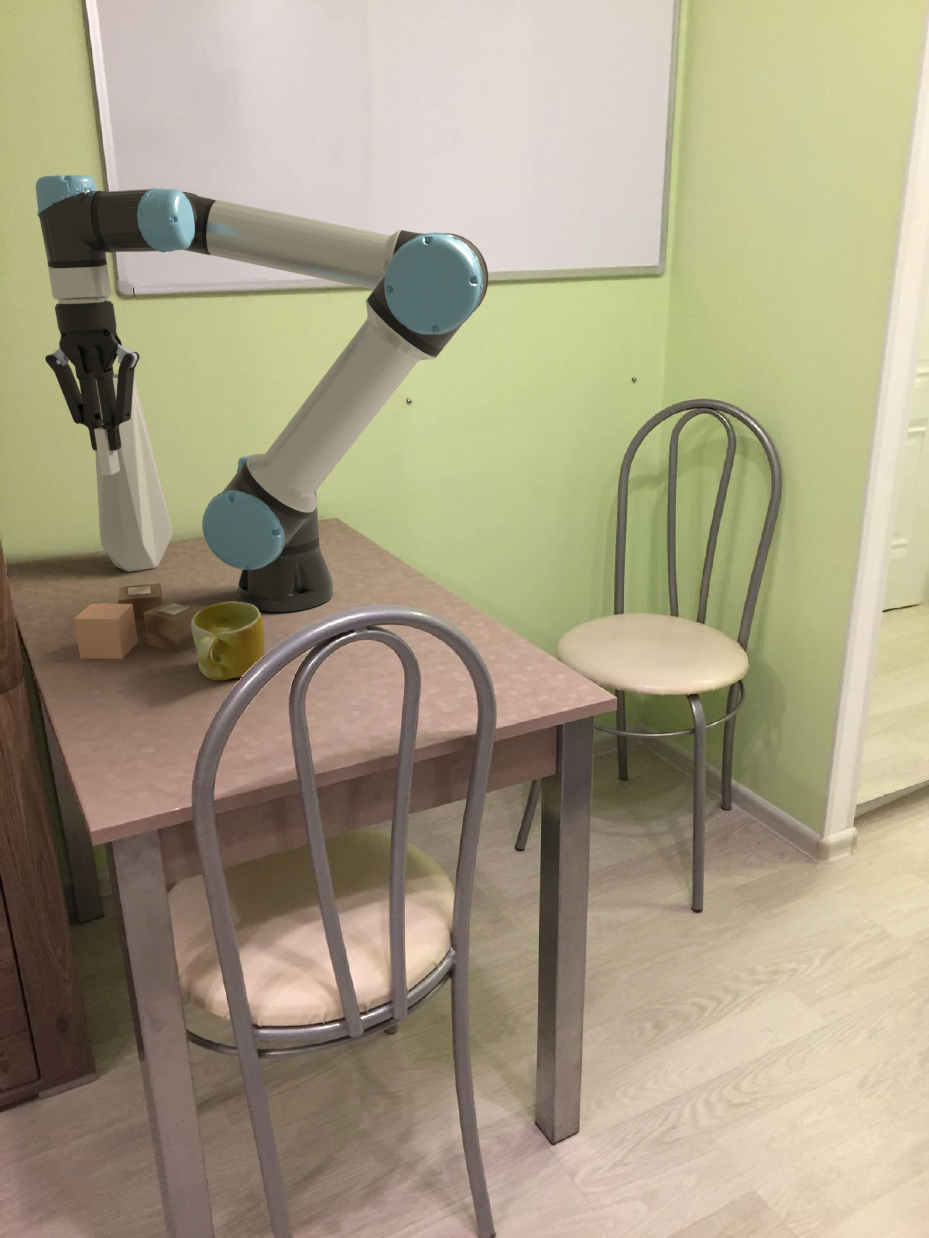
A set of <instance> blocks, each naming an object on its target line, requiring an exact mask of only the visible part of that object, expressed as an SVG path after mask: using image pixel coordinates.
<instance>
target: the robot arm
mask: <svg viewBox="0 0 929 1238" xmlns="http://www.w3.org/2000/svg"><path fill="white" fill-rule="evenodd" d="M35 193H36V203H37V212H36V213H37V217H38V218H39V223H40V227H41V228H40V229H41V233H42V238H43V244H44V249H45V254H46V260H47V267H48V268H47V269H48V270H47V271H48V275H49V276H48V277H49V281H50V286H51V287H50V288H51V295H52V298H53V299H54V300H57V301H58V302H57V303H56V304H55V305H54V311H55V318H56V323H57V329H58V332H59V333H60V339H59V342H58V347H59V348H58V349H57V350H55V351H53V353H51V354H47V355H45V362H46V364H47V365H48V366H49V367H50V369H51V370H52V371H53V373H54V374H55V377H56V380H57V383H58V385H59V387H60V390H61V392H62V395H63V398H64V400H65V402H66V405H67V407H68V411H69V413H70V415H71V418H72V420H73V422H74V423H75V424H77V425H79V424H80V425H82V426H85V427H87V428H88V434H89V438H90V439H89V440H90V446H91V448H92V450H93V451H94V452H95V451H98V456H99V462H100V468H101V474H102V475H112V474H114V473H116V472H118V471H120V467H119V460H118V454H117V450H118V449H121V438H120V432H119V425H120V424H121V423H124V422H126V421H128V420H130V419H131V409H132V396H133V383H134V377H135V369H136V367H137V364H138V363H139V360H140V354H139V352H137V351H130V350H129V349H128V348H126V347H124V346H123V344H122V340H121V338H119V336H118V333H117V320H116V314H115V307H114V303H113V302H112V301H111V300H109V299H108V298H110V297H111V296H112V295H113V293H112V288H111V281H110V275H109V268H108V261H107V253H135V252H136V253H146V252H150V253H151V252H159V253H167V252H175V251H187V252H190V253H195V254H196V253H197V254H201V255H208V256H212V257H213V256H214V257H218V258H223V259H228V260H231V261H237V262H241V263H247V264H252V265H256V266H261V267H265V268H270V269H274V270H280V271H283V272H284V271H285V272H288V273H293V274H294V273H295V274H297V275H304V276H307V277H312V278H317V279H323V280H326V281H331V282H335V283H341V284H345V285H349V286H350V285H351V286H355V287H360V288H363V289H364V288H365V289H368V290H369V289H370V290H373V291H371V293H370V294H369V296H368V297H367V298H366V300H365V304H366V305H365V306H366V313H367V317H366V318H367V319H366V320H365V321H364V322H363V324H362V325H361V327H359V329H358V331H357V332H356V333H355V334H354V336H353V337H352V338H351V339H350V341H349V343H348V344H347V345H346V346H345V348H344V349H343V350H342V352H341V353H340V354H339V356H338V357H337V358H336V359H335V360H334V362H333V364H332V365H331V366H330V367H329V369H328V370H327V371H326V373H325V374H324V375H323V377H321V379H320V380H319V382H318V384H317V385H316V386H315V387H314V389H313V390H312V392H311V393H310V394H309V395H308V397H307V398H306V399H305V400H304V402H303V403H302V405H301V406H300V407H299V408H298V409H297V411H296V413H295V414H294V415H293V417H292V418H291V419H290V420H289V422H288V423H287V424H286V426H285V427H284V429H283V430H282V431H281V432H280V434H279V435H278V436H277V438H275V440H274V442H273V443H272V444H271V446H270V447H269V448H268V449H267V451H265V453H258V454H257V453H255V454H250V455H245V456H242V457H241V456H240V458H239V459H238V461H237V469H236V474H235V475H233V477H232V479H231V480H230V482H229V483H228V484H227V486H225V488H224V489H223V490H222V491H221V492H220V493H218V494H217V495H215V496H213V498H211V500H210V501H209V503H208V504H207V507H206V508H205V510H204V513H203V515H202V520H201V521H202V522H201V527H202V532H203V536H204V540H205V543H206V544H207V546H208V548H209V549H210V551H211V552H212V553H213V554H214V555H215V557H217V559H219V560H220V561H221V562H222V563H225V564H226V565H228V566H229V567H232V568H234V569H238V570H241V571H240V575H239V579H238V584H237V593H238V594H237V597H238V602H244V603H249V604H252V605H254V606H256V607H257V608H258V610H259V612H260V611H261V612H267V613H270V612H272V613H278V612H279V613H286V612H287V613H288V612H297V611H303V610H307V609H311V608H315V607H318V606H320V605H322V604H324V603H327V602H328V601H329V600H330V599H332V598H333V595H334V584H333V583H334V581H333V578H332V575H331V573H330V570H329V567H328V565H327V564H326V560H325V558H324V556H323V554H322V550H321V548H320V532H319V515H318V499H317V498H318V497H317V490H318V489H319V487H320V486H321V485H322V484H323V483H324V482H325V480H326V479H327V478H328V476H329V475H330V473H332V471H333V470H334V468H336V466H337V465H338V464H339V462H340V461H341V460H342V458H343V457H344V456H345V455H346V453H347V452H348V451H349V449H350V448H352V447H353V444H354V443H355V442H356V441H357V440H358V438H359V437H360V436H361V434H363V432H364V431H365V429H366V428H367V427H368V426H369V424H370V423H371V422H372V420H373V419H374V418H375V417H376V415H377V414H378V413H379V412H380V411H381V409H382V408H383V407H384V405H385V404H386V402H387V401H388V400H389V399H390V398H391V397H392V395H393V394H394V393H395V391H396V390H397V389H398V388H399V386H400V385H401V384H402V382H403V381H404V380H405V379H406V377H407V376H408V375H409V374H410V373H411V371H412V370H413V369H414V367H415V366H416V365H417V364H418V362H420V361H426V360H435V359H437V357H438V356H439V354H440V353H441V352H442V351H443V350H444V348H445V347H446V346H447V344H449V342H450V341H451V340H452V338H453V337H454V336H455V335H456V334H457V332H458V331H459V329H460V328H462V326H463V324H465V322H466V321H468V320H469V318H470V317H471V316H472V315H473V313H474V312H475V311H476V310H477V309H478V308H479V307H480V306H481V305H482V302H483V301H484V299H485V297H486V295H487V291H488V287H489V270H488V269H489V268H488V266H487V263H486V260H485V257H484V255H483V254H482V252H481V251H480V250H479V248H478V247H477V246H476V245H475V244H474V243H473V242H472V241H471V240H469V239H467V238H466V237H464V236H461V235H460V234H457V233H456V234H455V233H449V232H428V233H427V232H426V233H422V232H420V233H419V232H415V231H414V232H413V231H407V230H403V229H399V230H397V231H395V233H393V234H391V235H390V234H386V233H385V234H384V233H381V232H376V231H370V230H366V229H360V228H355V227H351V226H348V225H347V226H346V225H341V224H336V223H331V222H328V221H327V222H326V221H321V220H317V219H311V218H308V217H302V216H297V215H293V214H288V213H282V212H278V211H272V210H269V209H263V208H260V207H259V208H258V207H253V206H248V205H243V204H239V203H235V202H234V203H233V202H229V201H224V200H217V199H212V198H208V197H204V196H200V195H198V194H196V193H193V192H188V191H181V190H179V189H175V188H173V189H171V188H164V187H161V188H157V187H155V188H153V187H151V188H148V189H147V188H145V189H129V190H127V189H126V190H115V191H112V190H110V191H107V190H98V188H97V186H96V182H95V179H94V177H92V176H90V175H84V174H82V175H80V174H78V175H77V174H73V175H72V174H69V175H68V174H67V175H65V174H64V175H63V174H62V175H61V174H59V175H45V176H41V177H39V178H38V179H37V180H36V183H35ZM117 358H118V359H117ZM116 359H117V362H118V364H119V366H118V370H117V373H118V382H117V396H116V395H115V389H114V382H113V375H114V367H113V366H114V364H115V361H116ZM69 363H71V364H72V365H73V367H74V369H75V370H74V371H75V375H74V373H73V370H72V368H71V366H70V364H69ZM76 378H77V380H78V382H77V381H76ZM96 381H97V384H96ZM78 383H79V386H78ZM97 387H98V391H97ZM98 393H99V397H98ZM99 399H100V403H99ZM100 405H101V410H100ZM101 412H102V416H101ZM102 418H103V420H102ZM102 424H103V425H102Z"/></svg>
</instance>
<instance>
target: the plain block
mask: <svg viewBox="0 0 929 1238" xmlns="http://www.w3.org/2000/svg"><path fill="white" fill-rule="evenodd" d="M73 621H74V625H75V626H74V627H75V634H76V639H77V644H78V645H77V646H78V653H79V657H80V659H94V660H95V659H97V660H98V659H100V660H101V659H104V660H105V659H106V660H108V659H109V660H116V659H117V660H123V659H124V658H125V657H126V656H127V655H128V654H129V652H130V651H131V650H133V648H134V647H135V646H136V645H137V644H138V641H139V640H138V635H137V634H138V633H137V629H136V625H135V618H134V611H133V604H118V603H90V604H89V605H88V606H86V608H85V609H83V610H82V611H81V612H80V613H79V614H77V615H76V616H75V617H74V619H73Z"/></svg>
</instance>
